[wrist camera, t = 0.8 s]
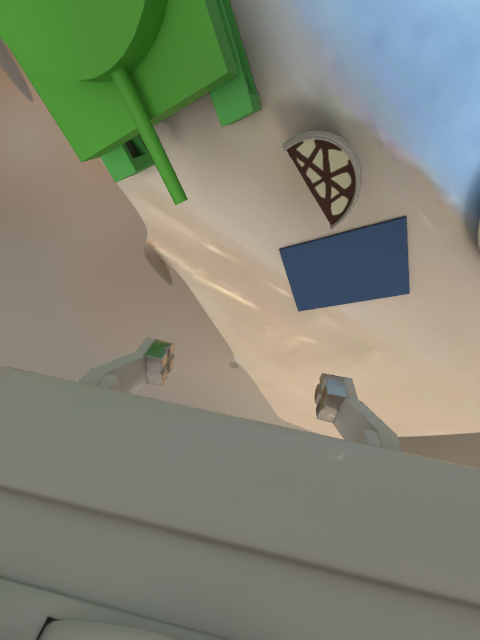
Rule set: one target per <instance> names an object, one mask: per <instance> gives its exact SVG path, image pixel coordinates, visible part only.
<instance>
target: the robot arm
mask: <svg viewBox="0 0 480 640" xmlns="http://www.w3.org/2000/svg"><path fill="white" fill-rule="evenodd" d="M174 350H175V345H174V343H171V342H167V341H162V340H158V339H153V338H146V339H145V340H144V341H143V343H142V344H141V345H140V347H139V348H138V349H137V350H136V351H135V352H134V354H128V355H126V356H123V357H121V358H118V359H115V360H113V361H111V362H108V363H105V364H103V365H100V366H98V367H95V368H92V369H90V370H89V371H88V372H87V373H86V374H85V375H84V376H83V377H82V378H81V379H80V380H79V381H78V382H76V381H71V380H66V379H62V378H57V377H52V376H48V375H43V374H38V373H34V372H29V371H25V370H21V369H16V368H12V367H4V366H3V367H0V640H480V469H478V468H472V467H468V466H464V465H459V464H454V463H450V462H445V461H440V460H435V459H431V458H426V457H422V456H417V455H412V454H408V453H404V452H403V450H402V447H401V445H400V442H399V440H398V437H397V435H396V434H395V433H394V432H393V431H392V430H391V429H390V428H389V427H388V426H387V425H386V424H385V423H384V422H383V421H382V420H381V419H379V418H378V417H377V416H376V415H375V414H374V413H373V412H372V411H371V410H370V409H369V408H368V407H367V406H366V405H365V404H364V403H363V402H362V401H359V400H358V397H357V394H356V391H355V387H354V384H353V381H352V379H351V378H347V377H340V376H335V375H329V374H324V373H322V374H321V376H320V383H319V384H318V385H317V387H316V390H315V403H316V404H317V407H316V415H317V419H320V420H324V421H328V422H332V423H333V424H334V426H335V427H336V428H337V430H338V431H339V433H340V434H341V436H342V437H343V438H344V440H343V439H339V438H334V437H329V436H325V435H320V434H315V433H311V432H306V431H301V430H297V429H292V428H288V427H283V426H279V425H274V424H269V423H264V422H259V421H255V420H251V419H245V418H241V417H236V416H232V415H228V414H223V413H218V412H213V411H209V410H205V409H200V408H195V407H191V406H186V405H182V404H177V403H172V402H168V401H163V400H158V399H154V398H149V397H145V396H140V395H135V394H132V393H133V392H135V391H136V390H138V389H140V388H141V387H143V386H144V385H146V384H147V383H149V384H155V385H160V386H163V384H164V382H165V380H166V379H167V373H169V372H170V371H171V369H172V368H173V365H174V358H175V356H174V354H173V351H174Z"/></svg>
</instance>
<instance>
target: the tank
mask: <svg viewBox="0 0 480 640" xmlns="http://www.w3.org/2000/svg"><path fill="white" fill-rule="evenodd" d="M0 38H1V39H2V40H3V41H4V42H5V43H6V44H7V45H8V47H9V48H10V50H11V51H12V53H13V55H14V56H15V58H16V59H17V61H18V63H19V64H20V66H21V67H22V69H23V71H24V72H25V74H26V75H27V77H28V78H29V80H30V82H31V83H32V85H33V86H34V88H35V89H36V91H37V93H38V94H39V96H40V97H41V99H42V100H43V102H44V104H45V105H46V107H47V108H48V110H49V112H50V113H51V115H52V116H53V118H54V120H55V121H56V123H57V124H58V126H59V127H60V129H61V131H62V132H63V134H64V135H65V137H66V139H67V140H68V142H69V143H70V145H71V146H72V148H73V150H74V151H75V153H76V154H77V156H78V158H79V159H80V161H81V162H84V161H87V160H91V159H94V158H98V157H101V159H102V161H103V162H104V164H105V166H106V167H107V169H108V171H109V173H110V174H111V176H112V178H113V179H114V181H115V183H116V182H118V181H120V180H123V179H125V178H128V177H130V176H133V175H135V174H137V173H139V172H141V171H143V170H145V169H147V168H149V167H150V166H152V165H154V163H155V165H156V167H157V169H158V171H159V173H160V175H161V177H162V179H163V181H164V183H165V185H166V187H167V189H168V191H169V193H170V195H171V197H172V199H173V201H174V203H175V205H177V204H180V203H182V202H184V201H186V200H187V197H186V195H185V192H184V190H183V188H182V186H181V184H180V182H179V180H178V178H177V176H176V174H175V171H174V169H173V167H172V165H171V163H170V161H169V159H168V157H167V155H166V153H165V150H164V148H163V146H162V144H161V142H160V140H159V138H158V136H157V134H156V132H155V129H154V127H153V126H154V125H156V124H157V123H159V122H161V121H162V120H164V119H166V118H167V117H169V116H171V115H172V114H174V113H176V112H177V111H179V110H181V109H183V108H184V107H186V106H188V105H189V104H191V103H193V102H194V101H196V100H198V99H199V98H201V97H203V96H204V95H206V94H208V93H210V96H211V98H212V101H213V104H214V107H215V110H216V112H217V115H218V118H219V121H220V123H221V126H222V127H223V126H226V125H230V124H233V123H235V122H237V121H239V120H241V119H243V118H245V117H247V116H249V115H251V114H253V113H255V112H256V111H258V110H260V109H262V107H261V104H260V100H259V97H258V93H257V90H256V87H255V83H254V80H253V77H252V73H251V70H250V67H249V63H248V60H247V57H246V53H245V50H244V47H243V43H242V40H241V37H240V33H239V30H238V27H237V23H236V20H235V17H234V14H233V10H232V7H231V4H230V0H0ZM139 134H140V135H141V137H142V139H143V141H144V142H143V141H142V139H141V137H140V135H139ZM144 143H145V144H144ZM145 145H146V146H145ZM146 147H147V148H146ZM147 149H148V150H147ZM148 151H149V152H148ZM149 153H150V154H149ZM150 155H151V156H150ZM151 157H152V158H151ZM152 159H153V160H152ZM153 161H154V162H153Z"/></svg>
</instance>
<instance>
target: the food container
mask: <svg viewBox="0 0 480 640" xmlns="http://www.w3.org/2000/svg"><path fill="white" fill-rule="evenodd" d="M283 148H284V151H285V150H287V152H288V153H289V156H290V157H291V158H292V160H293V161H294V163H295V165H296V167H297V168H298V170H299V172H300V173H301V175H302V177H303V179H304V180H305V182H306V184H307V186H308V187H309V189H310V191H311V192H312V194H313V196H314V197H315V199H316V201H317V202H318V204H319V206H320V207H321V209H322V211H323V212H324V214H325V216H326V217H327V219H328V221H329V222H330V226H331V229H333V228H335V227H336V226H338V225H339V224H340V223H341V222H342V221H343V220H344V219H345V218H346V217H347V216H348V214H349V213H350V211H351V210H352V208H353V207H354V204H355V202H356V200H357V198H358V195H359V191H360V187H361V167H360V163H359V160H358V157H357V155H356V153H355V152H354V150H353V148H352V147H351V146H350V145H349V144H348V143H347V142H346V141H345V140H344V139H342V138H341V137H340V136H337V135H335V134H333V133H330V132H326V131H309V132H304V133H301V134H298V135H296V136H294V137H292V138H290V139H289V140H287V141H286V142H285V143H283Z"/></svg>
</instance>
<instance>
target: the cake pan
mask: <svg viewBox="0 0 480 640" xmlns="http://www.w3.org/2000/svg"><path fill="white" fill-rule="evenodd" d="M478 246H479V250H480V221H479V228H478Z"/></svg>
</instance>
